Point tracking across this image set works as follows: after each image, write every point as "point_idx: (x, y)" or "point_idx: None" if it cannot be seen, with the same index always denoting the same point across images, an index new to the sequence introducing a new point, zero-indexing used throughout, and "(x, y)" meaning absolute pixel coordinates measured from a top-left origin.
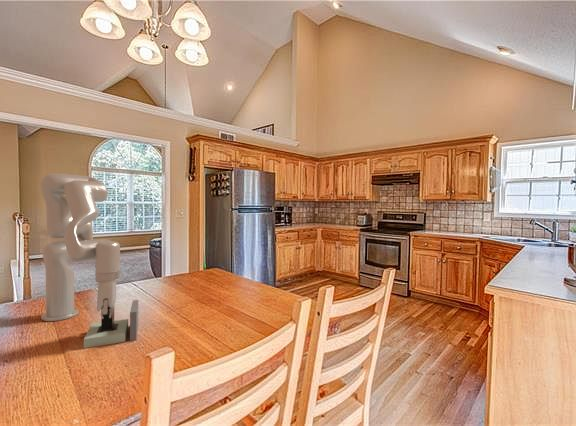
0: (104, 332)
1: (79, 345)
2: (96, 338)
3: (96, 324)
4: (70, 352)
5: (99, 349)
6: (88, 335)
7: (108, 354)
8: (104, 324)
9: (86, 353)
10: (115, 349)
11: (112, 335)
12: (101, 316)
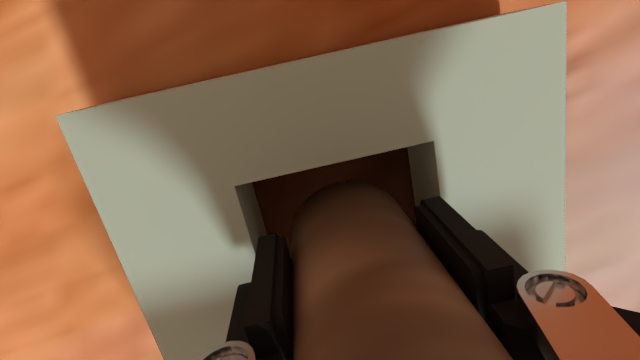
0: (235, 261)
1: (184, 26)
2: (113, 227)
3: (502, 80)
4: (31, 5)
5: (96, 237)
6: (159, 126)
7: (13, 329)
8: (237, 311)
9: (19, 164)
10: (96, 344)
11: (162, 351)
12: (343, 297)
